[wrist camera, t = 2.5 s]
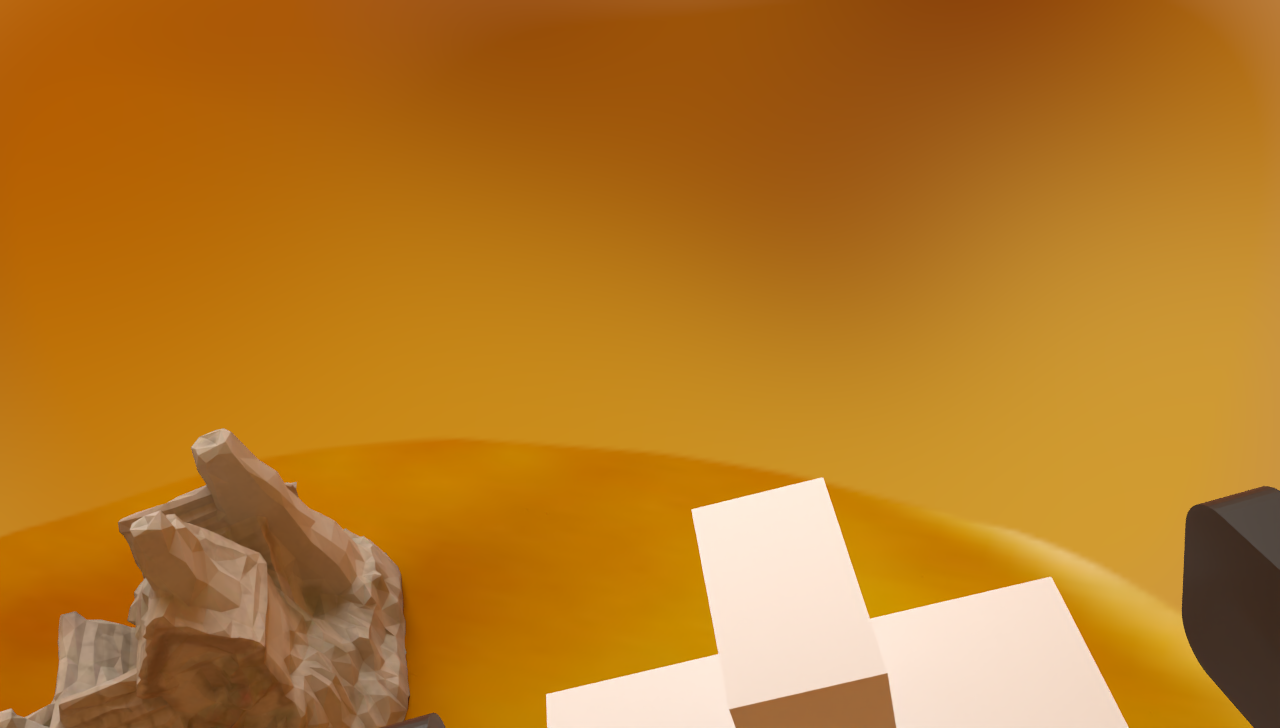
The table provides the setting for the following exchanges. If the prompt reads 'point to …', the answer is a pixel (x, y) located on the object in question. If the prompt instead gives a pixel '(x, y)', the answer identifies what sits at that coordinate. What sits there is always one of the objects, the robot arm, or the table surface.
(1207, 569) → the robot arm
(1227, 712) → the table surface
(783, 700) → the slab with upright post
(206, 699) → the beige rock formation
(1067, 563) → the table surface
